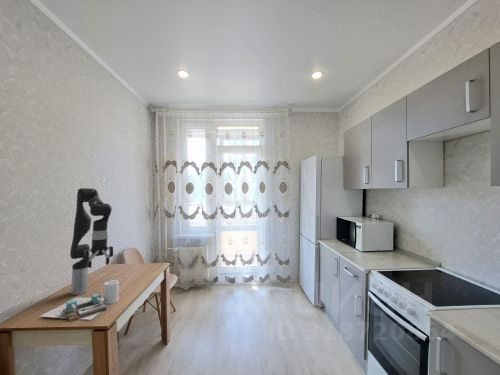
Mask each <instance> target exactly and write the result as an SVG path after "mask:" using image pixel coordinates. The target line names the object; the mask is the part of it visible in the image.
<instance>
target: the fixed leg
mask: <svg viewBox="0 0 500 375" xmlns="http://www.w3.org/2000/svg"><path fill="white" fill-rule="evenodd" d="M90 298H91V299H90V301H93V305H96V304H99V305H101V303H102V294H100V292H98V293H95V294H91V297H90Z"/></svg>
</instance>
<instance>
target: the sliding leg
mask: <svg viewBox="0 0 500 375" xmlns="http://www.w3.org/2000/svg"><path fill="white" fill-rule="evenodd" d="M77 303H78V301H77V299H71V300H67V301H66V304H65V306H66V307H65V309H66V311H67V308H68V313H69V312H72V311H73V313H75V311H76V310H77V305H78V304H77Z"/></svg>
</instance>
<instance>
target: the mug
mask: <svg viewBox="0 0 500 375" xmlns="http://www.w3.org/2000/svg"><path fill="white" fill-rule="evenodd" d="M119 284H120V282H119V280H116V279H114V280H108V281H106V282H104V288H103V289H104V291H103V302H102V303H105V305H111V304H115V303H117V302H119V291H120V290H119V286H120V285H119Z"/></svg>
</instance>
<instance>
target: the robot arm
mask: <svg viewBox="0 0 500 375" xmlns="http://www.w3.org/2000/svg"><path fill="white" fill-rule="evenodd" d="M84 203H88V206H89V208H90V209H89V213H90V215H92V216H93V217H101V216H102V218H100V219H99V218H98V219H95V220H93V223H92V218H91V216H90V215H89V213H88V212H87V211H86V209H85V207H84ZM75 211H76V212H75V218H74V225H73V234H72V235H73V236H72V242H71V247H70V254H69V255H70V259H72V260H76V259H78V260H79V259H80V260H79V261H77V262H75V263H73V264H72V267H71V268H72V272H71V290H70V293H71V295H73V296H75V295H76V296H77V295H83V294H85V293H87V292H88V286H89V269H92V260H93V259H94V258H95V257H99V256H105V265H106V266H107V265H109V264H110V258H112V257H114V247H113V246H112V245H110V246H108V238H109V237H108V224H109V223H108V222H109V218H110V216H111V213H112V205H111V204H110V203H104V202H103V200H102V199H101V197H100V194H99V192H98V190H97V189H96V188H88V187H87V188H86V187H84V188H83V187H81V188H79V189H78V190H77V194H76V210H75ZM91 224H92V234H91V246H90V244H88V243H86V244H85V243H84V244H80V242H81V240H82V239H83V238H84V236H86V235H87V234H88V232H89V231H90V230H91ZM90 247H91V248H90ZM107 251H108V252H109V254H108V253H107ZM90 253H91V254H90Z"/></svg>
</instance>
